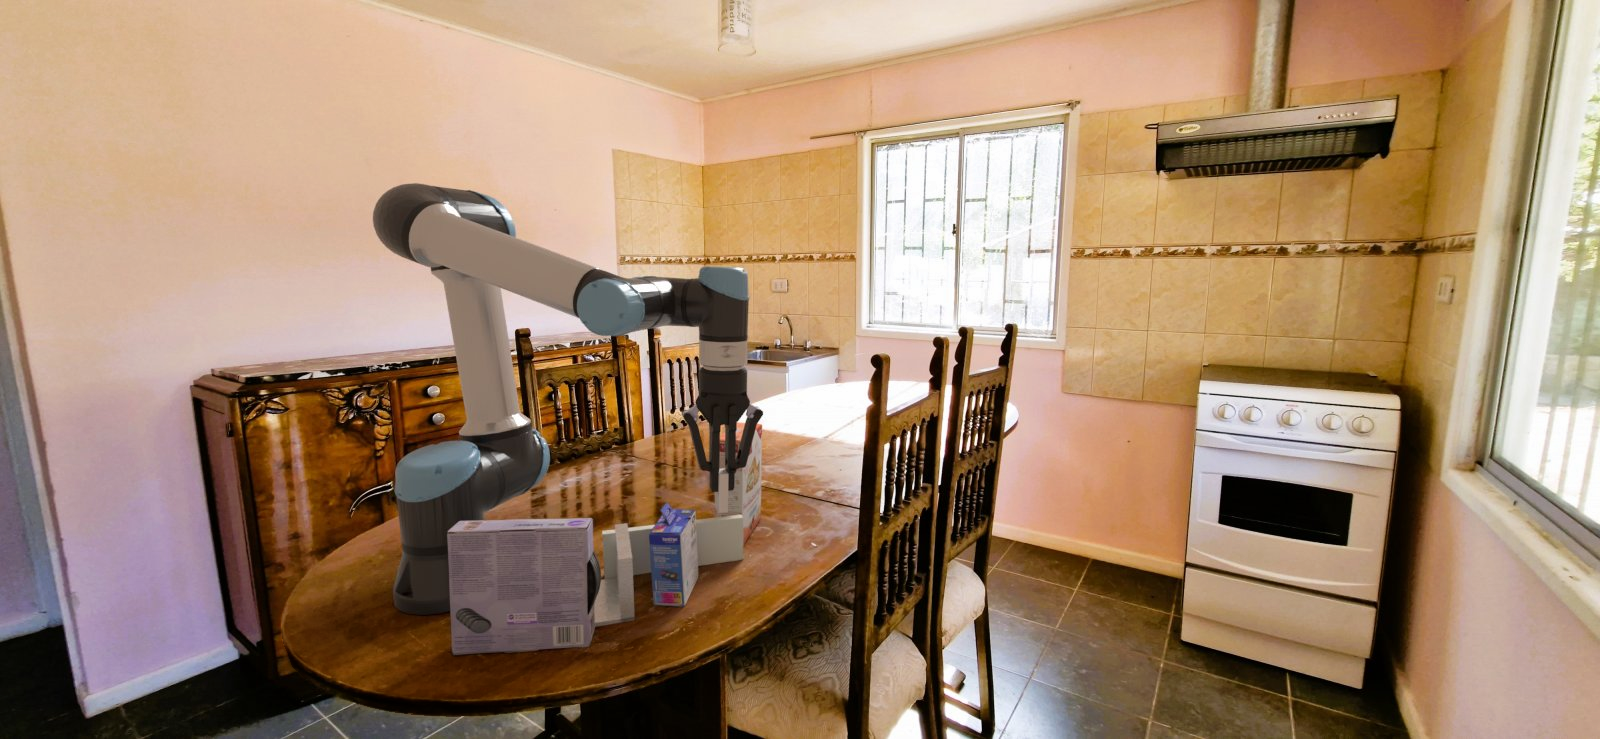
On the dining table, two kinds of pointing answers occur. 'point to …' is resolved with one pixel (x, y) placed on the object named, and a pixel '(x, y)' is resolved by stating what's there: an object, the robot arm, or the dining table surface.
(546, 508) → the dining table surface
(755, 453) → the cracker box
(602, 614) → the bookend
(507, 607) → the cake pan box
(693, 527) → the ink cartridge box
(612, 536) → the back wall
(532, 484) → the robot arm
